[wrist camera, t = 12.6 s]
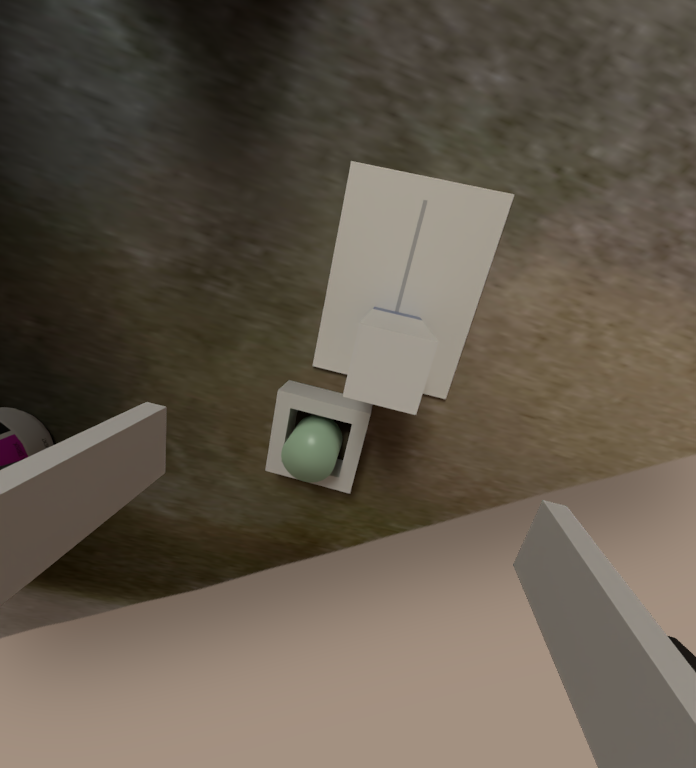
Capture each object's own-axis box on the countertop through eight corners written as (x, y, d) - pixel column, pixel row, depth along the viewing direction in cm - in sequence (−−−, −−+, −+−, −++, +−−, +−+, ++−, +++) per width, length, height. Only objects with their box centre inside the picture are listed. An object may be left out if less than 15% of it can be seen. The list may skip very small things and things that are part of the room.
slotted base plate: (352, 162, 24) (351, 160, 24) (512, 196, 24) (514, 194, 23) (313, 364, 29) (312, 366, 29) (444, 397, 29) (445, 399, 28)
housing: (289, 380, 30) (278, 390, 27) (373, 401, 30) (370, 414, 27) (276, 454, 33) (265, 470, 30) (353, 475, 32) (350, 493, 29)
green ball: (299, 409, 29) (285, 427, 25) (347, 421, 29) (340, 441, 25) (291, 451, 30) (277, 474, 27) (337, 464, 30) (329, 488, 26)
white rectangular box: (374, 306, 27) (359, 322, 15) (420, 317, 26) (438, 341, 15) (363, 350, 28) (342, 396, 17) (407, 361, 28) (415, 415, 16)
